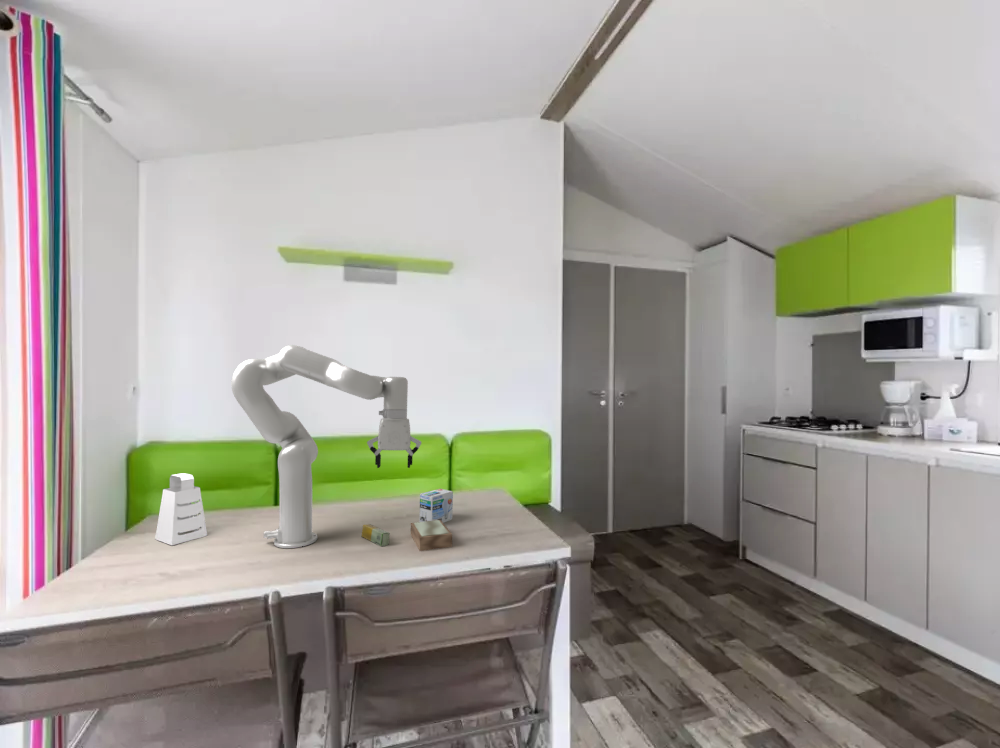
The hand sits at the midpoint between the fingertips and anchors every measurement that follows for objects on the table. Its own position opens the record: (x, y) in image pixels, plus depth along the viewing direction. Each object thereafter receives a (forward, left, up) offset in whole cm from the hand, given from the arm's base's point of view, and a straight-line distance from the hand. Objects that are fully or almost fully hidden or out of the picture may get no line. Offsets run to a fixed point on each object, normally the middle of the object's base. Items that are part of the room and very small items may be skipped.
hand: (393, 467), depth 156 cm
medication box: (-6, -2, -23) cm, 24 cm away
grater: (-64, +22, -23) cm, 71 cm away
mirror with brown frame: (+11, -8, -23) cm, 26 cm away
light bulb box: (+17, +10, -23) cm, 30 cm away
